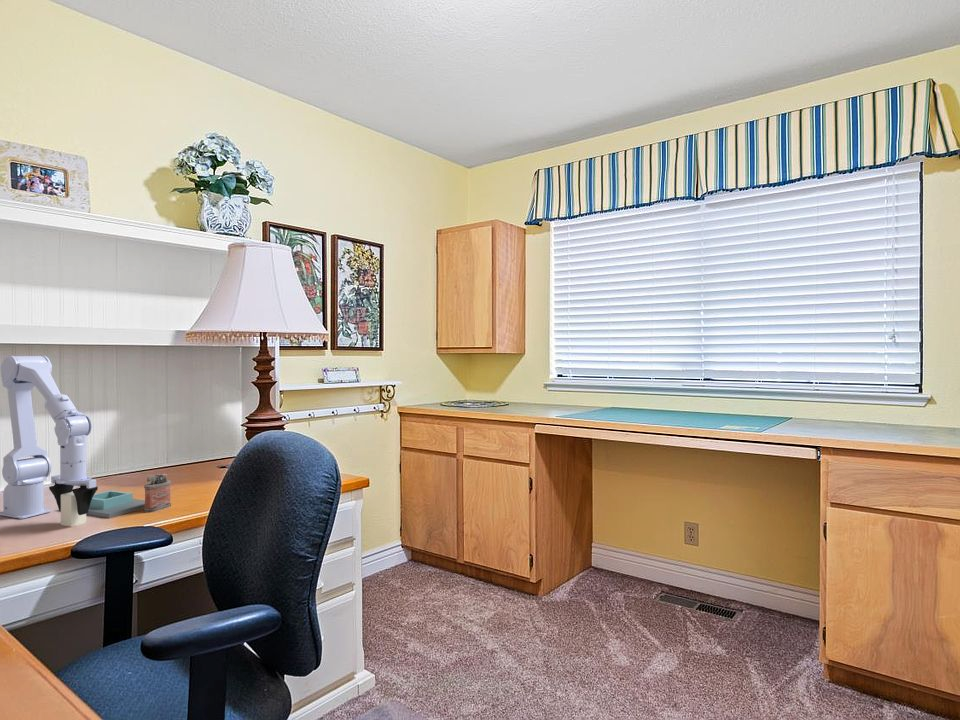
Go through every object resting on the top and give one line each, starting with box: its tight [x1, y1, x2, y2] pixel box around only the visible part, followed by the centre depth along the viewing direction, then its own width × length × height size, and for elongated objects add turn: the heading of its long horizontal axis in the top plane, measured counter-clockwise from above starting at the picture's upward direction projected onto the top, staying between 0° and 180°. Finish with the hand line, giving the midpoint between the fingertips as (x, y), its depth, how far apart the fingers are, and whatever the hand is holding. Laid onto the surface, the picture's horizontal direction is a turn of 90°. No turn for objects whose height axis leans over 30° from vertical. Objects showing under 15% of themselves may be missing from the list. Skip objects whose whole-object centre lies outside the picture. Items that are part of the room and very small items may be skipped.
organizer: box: [86, 490, 145, 519], centre depth 173 cm, size 20×14×4 cm
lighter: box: [143, 473, 172, 513], centre depth 173 cm, size 8×3×10 cm, turn 159°
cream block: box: [60, 492, 87, 527], centre depth 158 cm, size 4×4×8 cm
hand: (73, 512), depth 158 cm, fingers open, 7 cm apart
